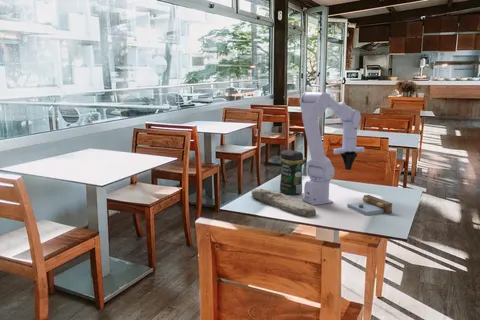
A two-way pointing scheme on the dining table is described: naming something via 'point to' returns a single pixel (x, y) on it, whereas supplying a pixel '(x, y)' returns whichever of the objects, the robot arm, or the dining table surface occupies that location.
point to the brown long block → (378, 203)
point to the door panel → (365, 208)
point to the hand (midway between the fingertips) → (348, 169)
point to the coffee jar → (291, 172)
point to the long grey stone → (283, 202)
